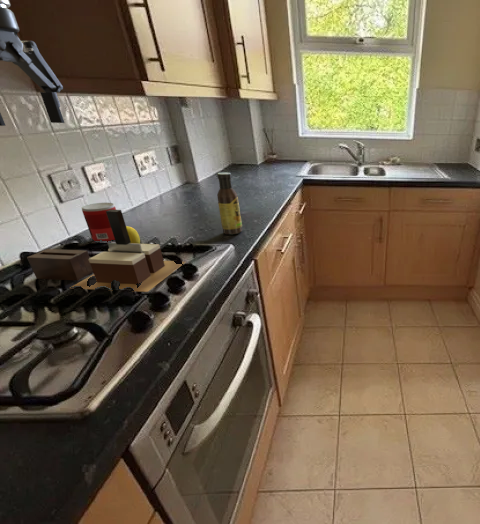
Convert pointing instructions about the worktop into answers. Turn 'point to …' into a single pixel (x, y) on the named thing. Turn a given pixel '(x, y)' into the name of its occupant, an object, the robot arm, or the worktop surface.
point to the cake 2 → (152, 256)
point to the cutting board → (145, 285)
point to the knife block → (60, 264)
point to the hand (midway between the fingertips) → (30, 124)
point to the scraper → (120, 234)
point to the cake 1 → (120, 267)
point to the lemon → (133, 235)
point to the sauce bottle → (228, 205)
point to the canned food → (99, 221)
